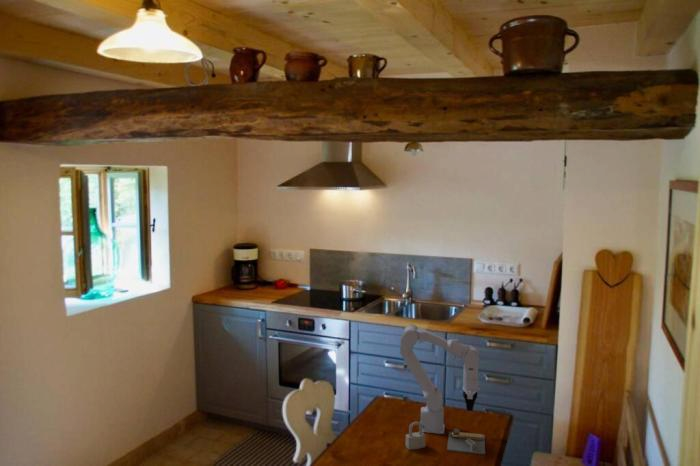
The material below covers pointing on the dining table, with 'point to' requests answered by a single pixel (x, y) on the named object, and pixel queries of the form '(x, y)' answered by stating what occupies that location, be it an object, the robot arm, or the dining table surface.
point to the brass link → (467, 436)
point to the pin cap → (456, 431)
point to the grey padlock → (415, 437)
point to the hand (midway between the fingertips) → (469, 409)
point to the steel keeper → (471, 444)
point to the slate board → (465, 445)
